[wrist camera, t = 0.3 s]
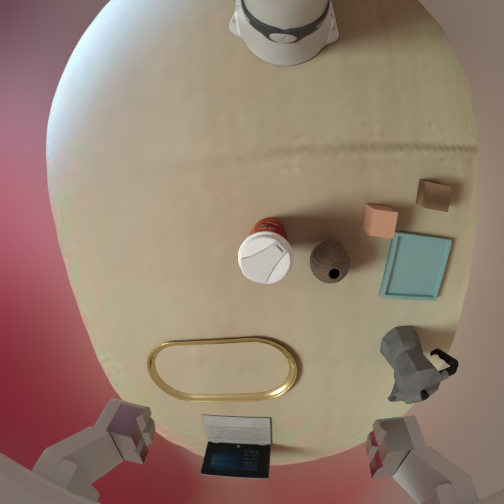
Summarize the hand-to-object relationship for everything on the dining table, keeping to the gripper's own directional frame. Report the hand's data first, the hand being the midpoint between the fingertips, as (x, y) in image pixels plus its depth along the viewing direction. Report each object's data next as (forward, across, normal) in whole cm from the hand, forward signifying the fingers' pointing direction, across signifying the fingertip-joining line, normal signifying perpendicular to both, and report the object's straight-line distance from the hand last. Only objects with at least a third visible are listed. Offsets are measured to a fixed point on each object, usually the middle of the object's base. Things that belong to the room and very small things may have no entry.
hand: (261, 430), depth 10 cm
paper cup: (+47, +1, +6) cm, 47 cm away
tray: (+46, -28, +11) cm, 55 cm away
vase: (+47, -10, +10) cm, 49 cm away
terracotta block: (+46, -18, +2) cm, 50 cm away
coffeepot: (+46, -30, +29) cm, 62 cm away
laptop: (+47, +7, +61) cm, 77 cm away
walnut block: (+46, -28, -3) cm, 55 cm away
